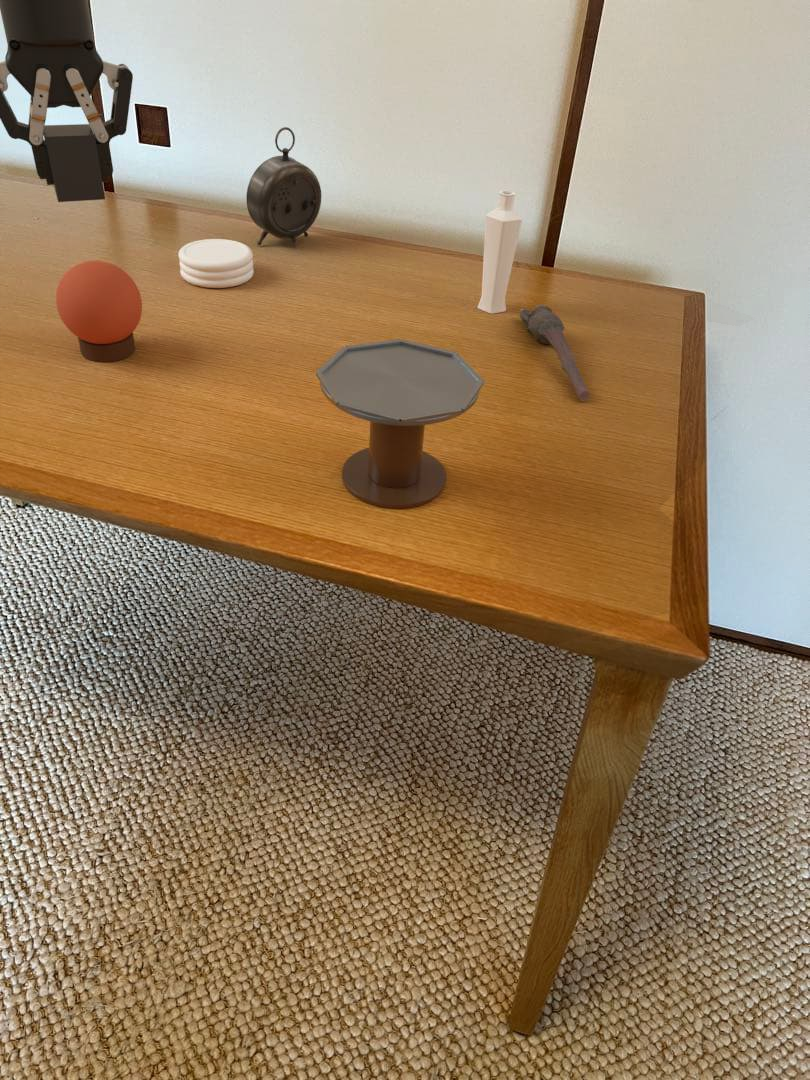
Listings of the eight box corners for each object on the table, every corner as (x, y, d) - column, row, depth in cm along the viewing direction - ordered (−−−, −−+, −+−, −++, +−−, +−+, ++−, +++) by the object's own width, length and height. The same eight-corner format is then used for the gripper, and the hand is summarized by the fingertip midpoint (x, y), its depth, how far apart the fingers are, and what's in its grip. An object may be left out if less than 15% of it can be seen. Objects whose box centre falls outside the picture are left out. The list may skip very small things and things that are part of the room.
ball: (71, 373, 90) (51, 283, 83) (63, 338, 96) (44, 252, 89) (154, 362, 93) (141, 275, 86) (142, 329, 99) (129, 245, 92)
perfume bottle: (502, 317, 108) (519, 200, 98) (471, 310, 109) (485, 194, 100) (513, 305, 111) (531, 191, 102) (483, 298, 113) (498, 185, 103)
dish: (349, 535, 71) (352, 429, 64) (302, 451, 80) (299, 350, 74) (492, 505, 75) (508, 403, 68) (430, 429, 85) (439, 332, 78)
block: (58, 202, 81) (45, 136, 77) (54, 188, 84) (41, 125, 80) (105, 199, 82) (94, 135, 79) (99, 186, 86) (89, 123, 82)
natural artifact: (529, 326, 109) (549, 302, 108) (584, 405, 92) (610, 378, 90) (508, 310, 107) (529, 285, 106) (562, 388, 90) (587, 360, 88)
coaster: (268, 279, 113) (266, 254, 111) (205, 295, 108) (203, 269, 106) (228, 257, 119) (226, 232, 116) (167, 271, 113) (164, 246, 111)
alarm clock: (307, 231, 129) (305, 119, 119) (327, 242, 126) (327, 128, 116) (247, 244, 123) (240, 127, 113) (266, 255, 120) (260, 136, 110)
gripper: (117, -25, 77) (143, 167, 87) (-50, -30, 72) (-1, 174, 83) (129, -15, 71) (155, 188, 82) (-51, -20, 67) (2, 197, 77)
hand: (76, 180), depth 82 cm, fingers closed on block, 4 cm apart
